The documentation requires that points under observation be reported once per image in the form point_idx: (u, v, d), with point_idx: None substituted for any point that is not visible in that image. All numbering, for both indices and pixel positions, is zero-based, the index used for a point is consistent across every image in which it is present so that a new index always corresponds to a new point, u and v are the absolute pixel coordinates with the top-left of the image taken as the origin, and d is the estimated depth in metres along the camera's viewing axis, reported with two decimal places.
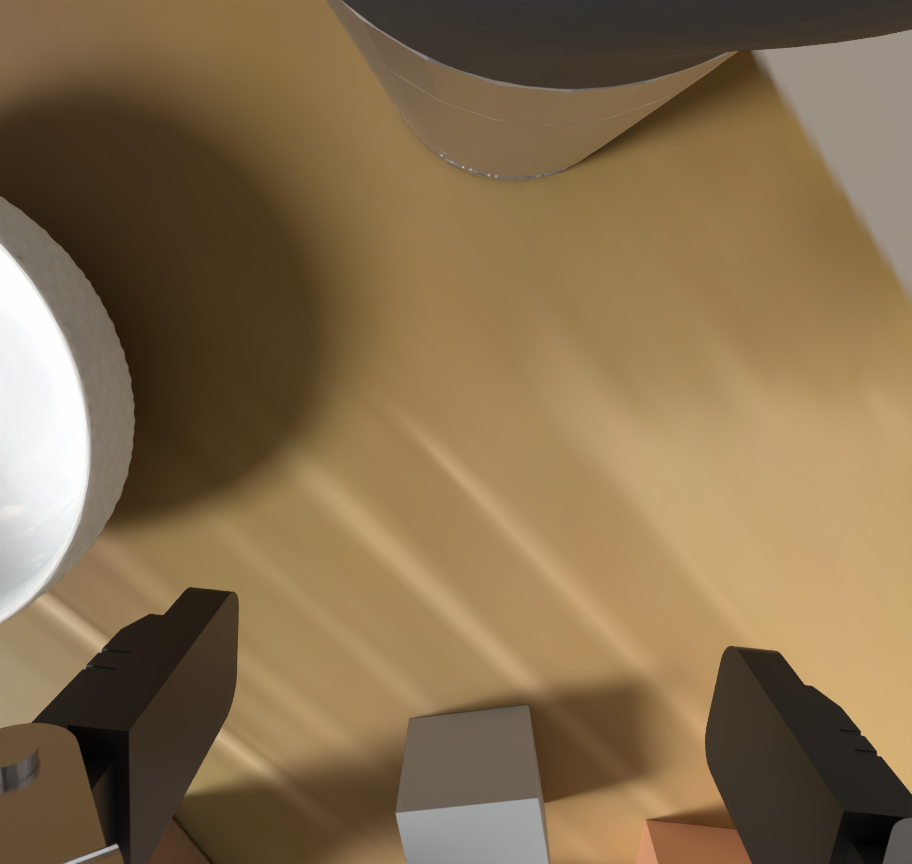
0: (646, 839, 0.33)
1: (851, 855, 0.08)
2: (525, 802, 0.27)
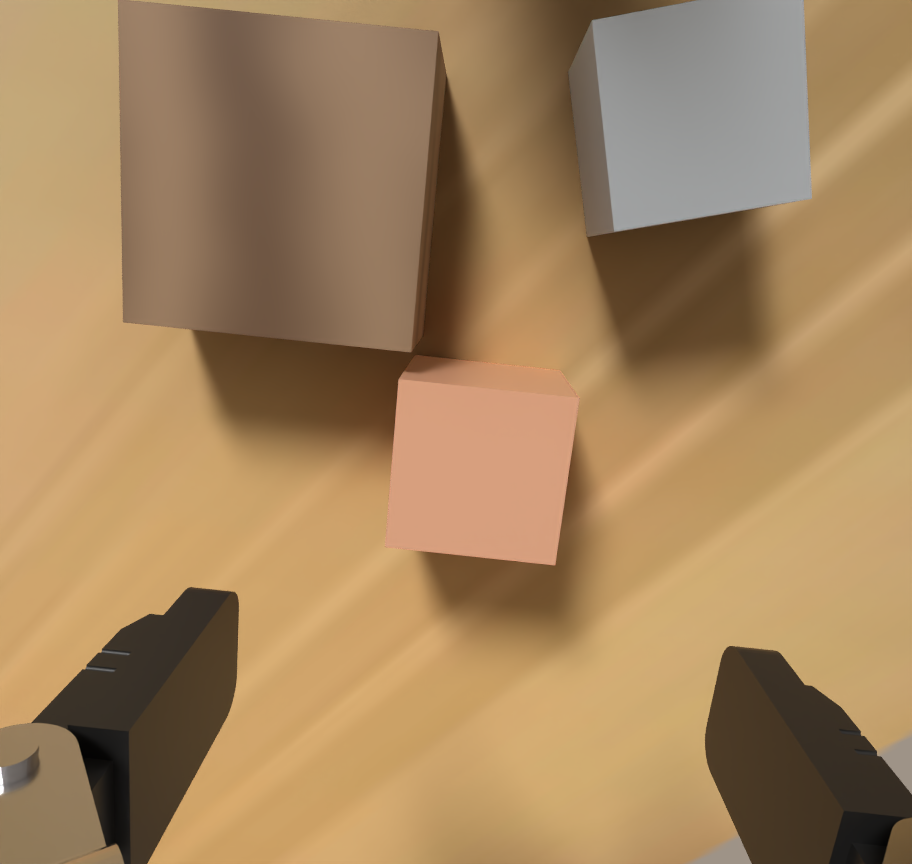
0: (546, 370, 0.26)
1: (851, 855, 0.08)
2: (804, 181, 0.20)
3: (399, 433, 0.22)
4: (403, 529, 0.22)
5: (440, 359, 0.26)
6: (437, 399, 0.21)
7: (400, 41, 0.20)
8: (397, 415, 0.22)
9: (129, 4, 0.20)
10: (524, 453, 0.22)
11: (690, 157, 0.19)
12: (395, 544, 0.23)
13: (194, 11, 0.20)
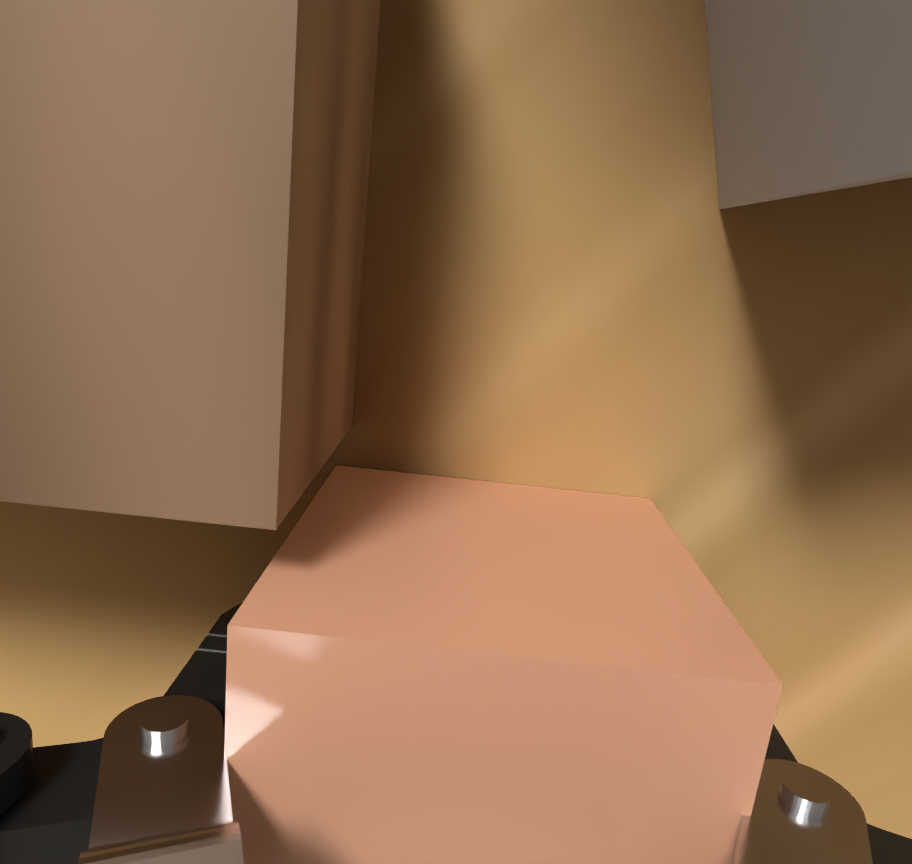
0: (625, 508, 0.12)
1: None
2: None
3: (239, 771, 0.07)
4: None
5: (388, 482, 0.12)
6: (349, 683, 0.07)
7: None
8: (230, 723, 0.07)
9: None
10: (608, 829, 0.07)
11: None
12: None
13: None
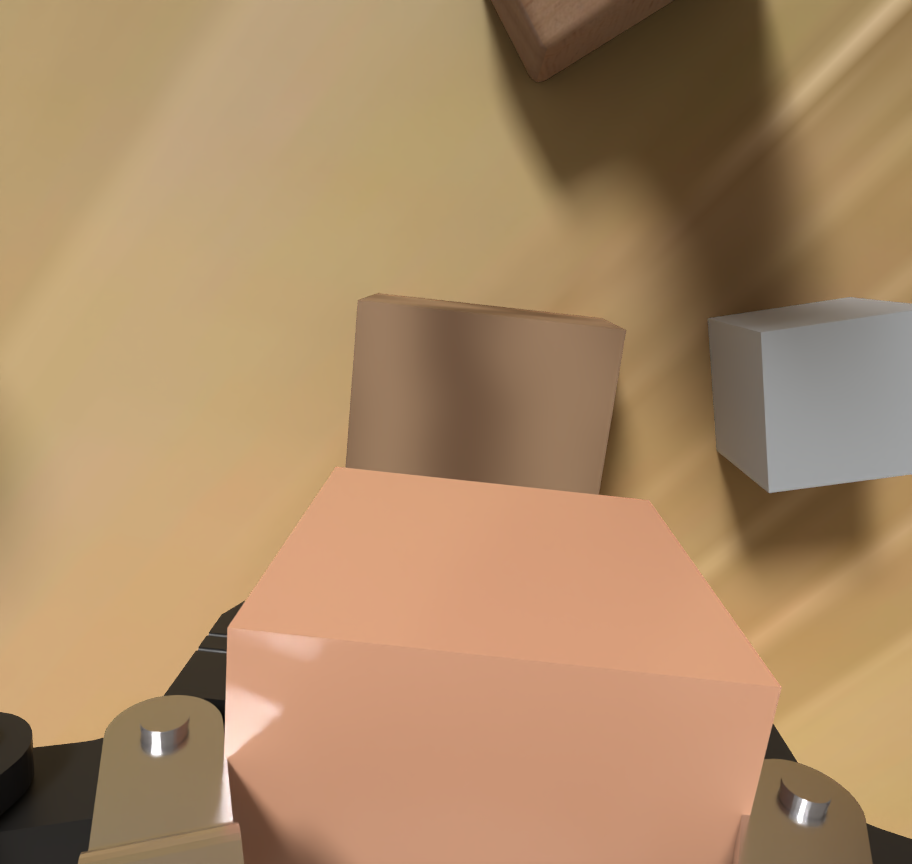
0: (625, 510, 0.12)
1: None
2: None
3: (239, 773, 0.07)
4: None
5: (388, 483, 0.12)
6: (347, 686, 0.07)
7: (593, 337, 0.24)
8: (230, 726, 0.07)
9: (366, 303, 0.24)
10: (608, 831, 0.07)
11: (836, 438, 0.23)
12: None
13: (421, 310, 0.23)
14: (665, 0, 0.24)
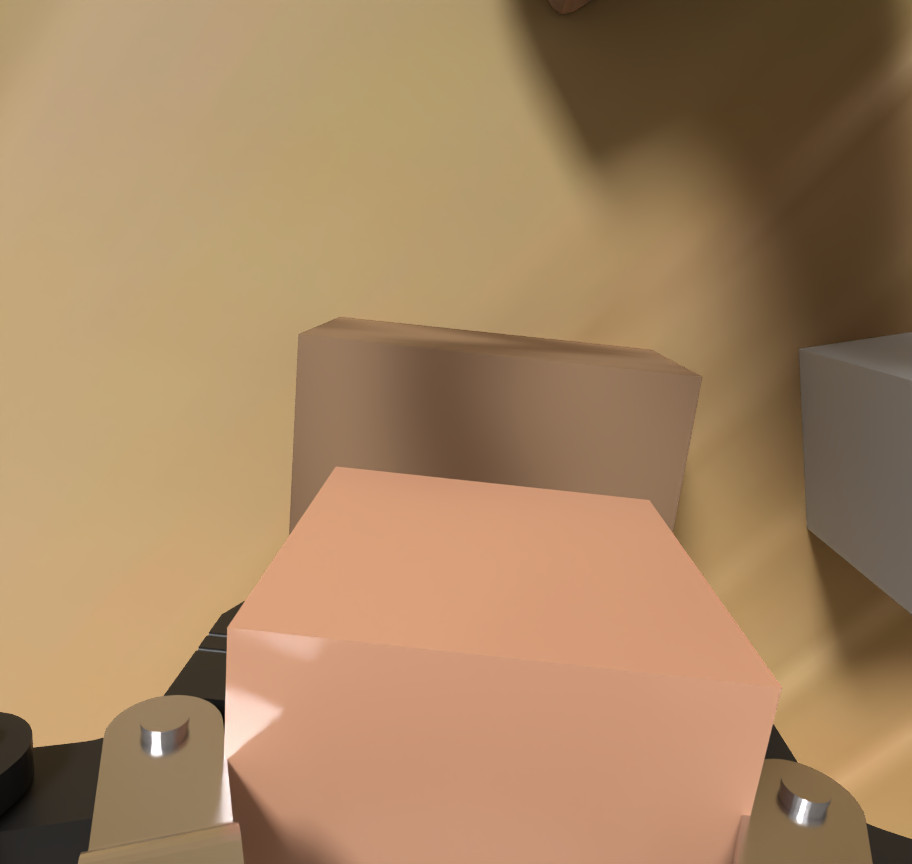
0: (625, 510, 0.12)
1: None
2: None
3: (239, 773, 0.07)
4: None
5: (388, 483, 0.12)
6: (347, 685, 0.07)
7: (653, 387, 0.16)
8: (230, 726, 0.07)
9: (312, 339, 0.16)
10: (608, 831, 0.07)
11: None
12: None
13: (394, 349, 0.16)
14: None
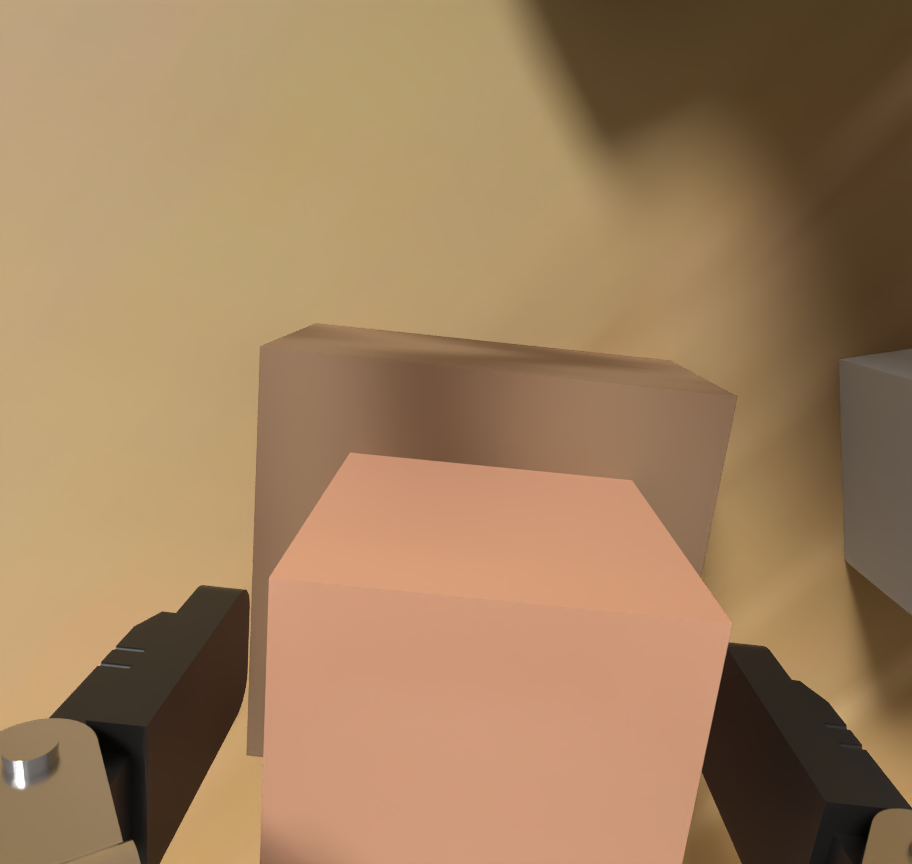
0: (609, 488, 0.13)
1: (833, 846, 0.08)
2: None
3: (278, 703, 0.09)
4: None
5: (397, 466, 0.13)
6: (370, 626, 0.08)
7: (679, 408, 0.13)
8: (271, 662, 0.09)
9: (276, 352, 0.13)
10: (589, 749, 0.09)
11: None
12: None
13: (373, 364, 0.13)
14: None
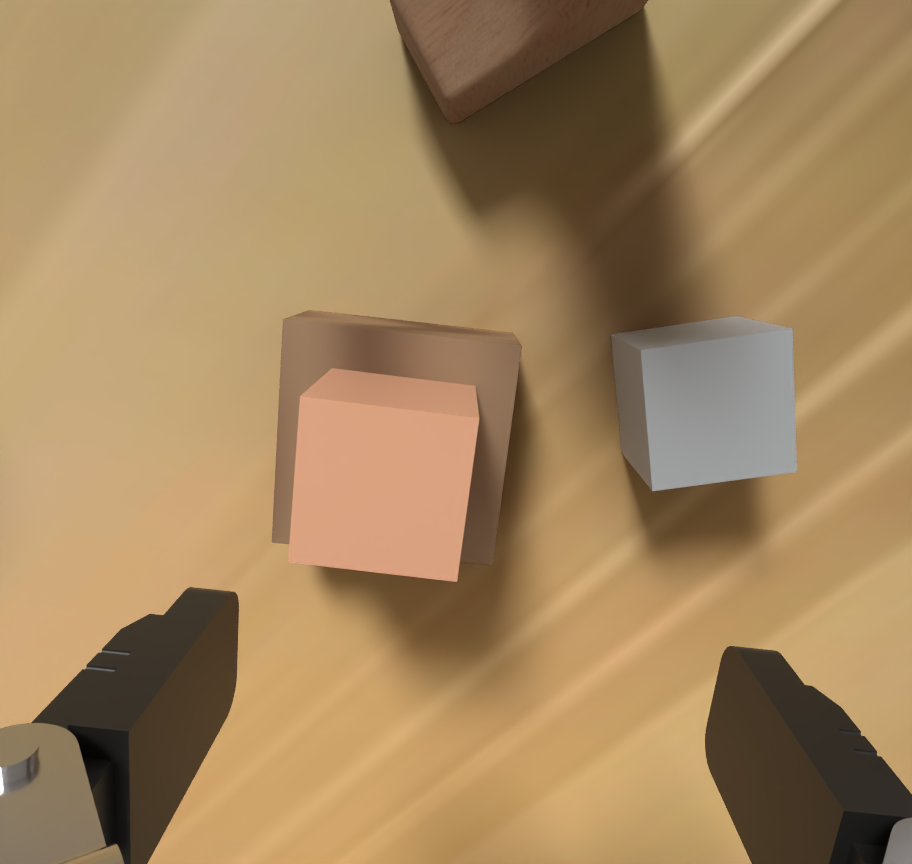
0: (460, 387, 0.26)
1: (851, 855, 0.08)
2: (792, 460, 0.27)
3: (301, 450, 0.22)
4: (306, 544, 0.23)
5: (355, 373, 0.26)
6: (338, 417, 0.22)
7: (493, 352, 0.27)
8: (299, 432, 0.22)
9: (291, 322, 0.26)
10: (425, 471, 0.22)
11: (709, 443, 0.27)
12: (298, 559, 0.23)
13: (340, 329, 0.26)
14: (562, 54, 0.27)
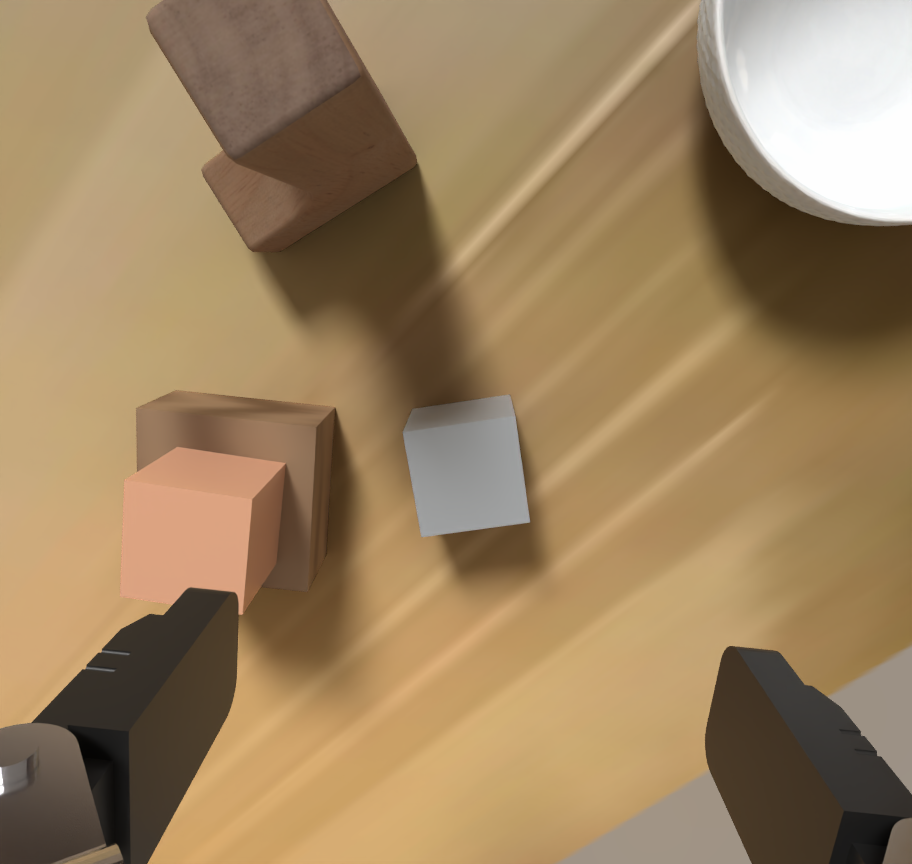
0: (271, 465, 0.35)
1: (851, 855, 0.08)
2: (525, 513, 0.35)
3: (126, 517, 0.30)
4: (132, 584, 0.31)
5: (192, 452, 0.35)
6: (152, 495, 0.30)
7: (295, 431, 0.35)
8: (124, 504, 0.30)
9: (142, 410, 0.35)
10: (216, 535, 0.30)
11: (461, 500, 0.35)
12: (127, 595, 0.31)
13: (179, 415, 0.35)
14: (351, 203, 0.36)
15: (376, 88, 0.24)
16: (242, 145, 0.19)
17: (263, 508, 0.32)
